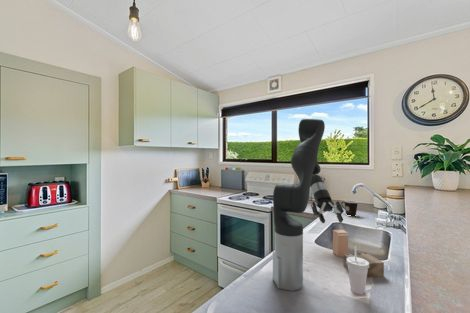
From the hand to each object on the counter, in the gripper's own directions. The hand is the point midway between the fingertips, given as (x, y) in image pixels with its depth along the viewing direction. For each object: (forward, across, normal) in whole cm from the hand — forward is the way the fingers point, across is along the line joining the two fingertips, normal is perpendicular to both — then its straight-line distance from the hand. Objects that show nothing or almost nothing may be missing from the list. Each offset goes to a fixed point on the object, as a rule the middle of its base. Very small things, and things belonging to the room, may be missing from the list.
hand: (332, 222), depth 102 cm
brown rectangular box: (+23, 0, -6) cm, 24 cm away
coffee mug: (-30, +46, +48) cm, 73 cm away
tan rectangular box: (+13, 0, +4) cm, 14 cm away
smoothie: (+31, -10, -14) cm, 35 cm away
